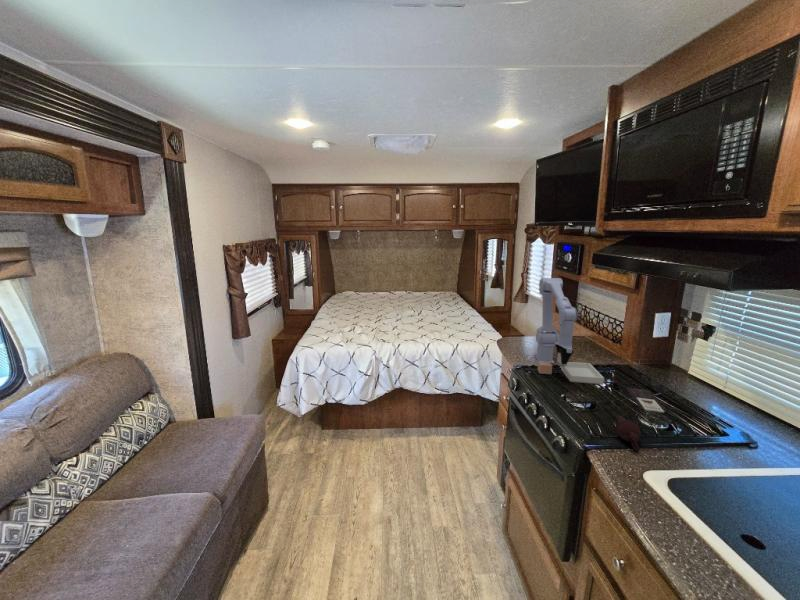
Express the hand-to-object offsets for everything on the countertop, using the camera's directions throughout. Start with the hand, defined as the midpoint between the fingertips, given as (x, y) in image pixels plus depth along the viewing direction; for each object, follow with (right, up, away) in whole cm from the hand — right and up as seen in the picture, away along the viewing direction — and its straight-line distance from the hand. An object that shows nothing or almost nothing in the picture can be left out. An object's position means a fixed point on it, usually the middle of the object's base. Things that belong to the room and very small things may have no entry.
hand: (562, 361), depth 150 cm
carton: (-5, -7, +8) cm, 12 cm away
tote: (+11, -7, +5) cm, 14 cm away
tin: (0, -1, 0) cm, 1 cm away
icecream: (+1, -18, -41) cm, 45 cm away
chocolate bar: (+26, -13, -17) cm, 33 cm away
